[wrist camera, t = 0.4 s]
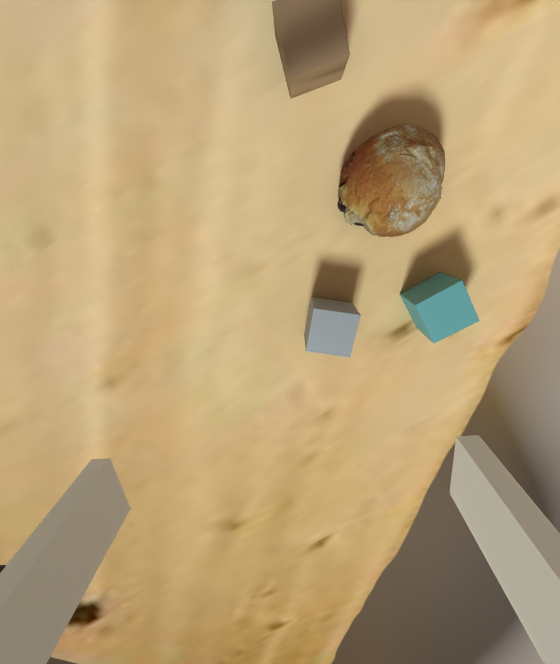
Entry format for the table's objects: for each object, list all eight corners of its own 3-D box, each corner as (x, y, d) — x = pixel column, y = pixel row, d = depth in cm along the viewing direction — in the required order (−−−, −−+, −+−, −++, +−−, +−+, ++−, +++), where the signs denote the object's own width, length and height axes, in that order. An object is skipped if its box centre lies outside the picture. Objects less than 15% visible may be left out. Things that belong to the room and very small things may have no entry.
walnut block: (275, 37, 28) (272, 2, 24) (328, 15, 28) (335, -26, 23) (290, 98, 30) (290, 77, 25) (340, 79, 29) (349, 54, 25)
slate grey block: (311, 296, 37) (313, 308, 32) (352, 302, 37) (360, 315, 32) (304, 334, 39) (305, 351, 34) (343, 340, 39) (350, 357, 34)
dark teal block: (399, 293, 36) (415, 305, 32) (439, 271, 35) (462, 280, 31) (416, 327, 38) (433, 343, 33) (455, 307, 37) (479, 320, 32)
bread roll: (405, 229, 37) (466, 226, 30) (333, 245, 34) (382, 246, 27) (403, 136, 34) (471, 108, 27) (323, 144, 31) (376, 115, 24)
